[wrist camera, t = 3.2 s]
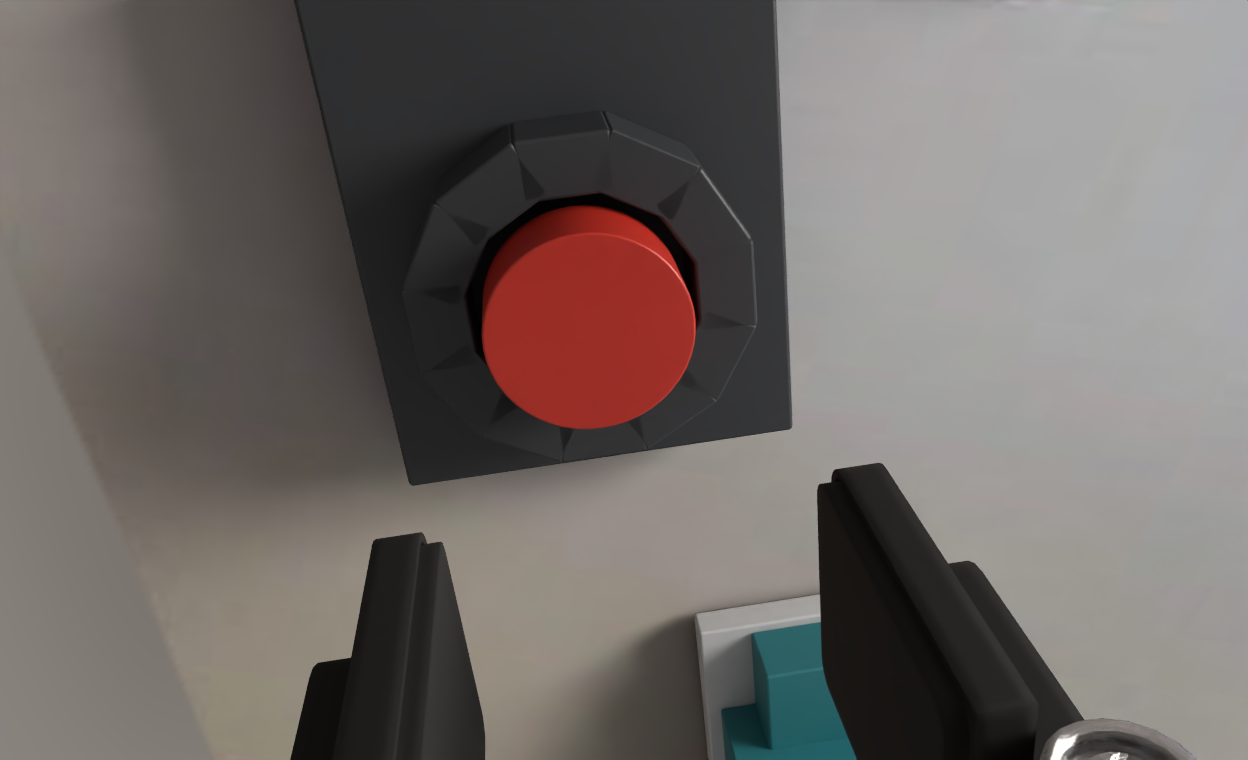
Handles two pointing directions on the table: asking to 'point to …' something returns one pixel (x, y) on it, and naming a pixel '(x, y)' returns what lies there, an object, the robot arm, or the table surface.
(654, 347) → the power button
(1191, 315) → the table surface
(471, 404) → the switch box
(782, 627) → the iron
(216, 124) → the table surface
